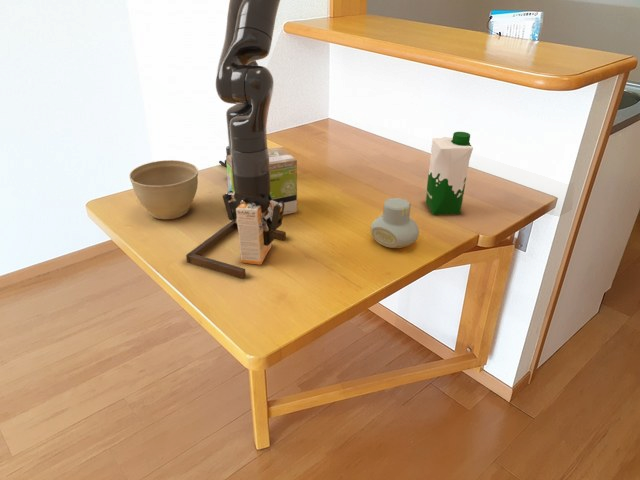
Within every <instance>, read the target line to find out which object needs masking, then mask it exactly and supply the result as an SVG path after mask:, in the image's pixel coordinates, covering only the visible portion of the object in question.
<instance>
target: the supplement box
mask: <svg viewBox="0 0 640 480" xmlns="http://www.w3.org/2000/svg"><path fill="white" fill-rule="evenodd" d="M251 204H252V203H247V204H240V205H239V206H238V207H237V208H236V214H237V224H238V229H237V234H238V233H239V235H238V242H239V243H238V244H239V251H240V261H241V263H242V264H243V263H244V264H250V265H251V264H253V265H262V263H263V262H264V260H265V258H266V256H267V255H268V253H269V251H270V250H271V248H272V247H273V241H272V242H271V243H270V244H269V245H268V246H266V245H264V235H263V231H264V229H263V224H262V221H261V213H262V211H261V206H260V205H258V206H257V207H256V206H252V205H251ZM269 209H270V206H269ZM265 213H266V211H265V212H264V213H262V215H263V216H264V215H265Z"/></svg>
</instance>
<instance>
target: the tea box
mask: <svg viewBox="0 0 640 480" xmlns="http://www.w3.org/2000/svg"><path fill="white" fill-rule="evenodd" d="M267 149H268V154H269V165H270V185H271V188H270V196H271V198H272V200H273V201H276V202H278V203H279V202H280V201H283V202H284V204H285V205H284V212H283V216H284V215H290V214H294V213H295V214H296V213H297V208H298V160H297V159H296V158H295V157H294V156H292V155H291V154H290V153H289V152H287V151H286V150H285V149H284V148H283V147H282V146H281V147H275V148H267ZM225 160H226V165H227V167H226V177H227V178H226V179H227V192H229V191H233V193H235V191H234V186H233V175H232V163H231V155H227V154H226V155H225ZM236 204H237V207H238V206H239V204H238V203H237V201H236ZM271 210H272V208H271V206H270V212H271ZM272 216H273V212H271V218H272Z"/></svg>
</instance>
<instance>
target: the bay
mask: <svg viewBox="0 0 640 480" xmlns="http://www.w3.org/2000/svg"><path fill="white" fill-rule="evenodd" d="M235 230H238V227H237V224H236V222H235V221H234V220H232V221H231V220H230V222H229V223H226V225H224V226H222V228H220V229H219V230H217V231H216V232H215V233H213V235H211V236H210V237H208V238H207V239H206V240H204V241H203V242H202V243H200V244H199V245H198V246H196V247H194V248H193V249H192V250H191V251H190V252H188V253H187V254H186V255H185V257H186V258H185V259H186V263H189V264H192V265H195V266H198V267H201V268H205V269H209V270H212V271H215V272H218V273H222V274H226V275H229V276H231V277H235V278H239V279H242V280H244V278H245V277H246V276H247V275H246V274H247V273H246V268H245V267H244V268H243V267H240V266H237V265H234V264H230V263H227V262H223V261H219V260H216V259H213V258H210V257H205V256H203V255H204V254H206V253H207V252H208V251H210V250H211V249H212V248H213V247H215V246H216V245H217V244H219V243H220V242H221V241H222V240H224V239H225V238H226V237H228V236H229V235H230V234H231V233H232V232H234V231H235ZM273 235H274V240H279V241H283V242H284V241H285V240H286V239H287V232H286V231H283V230H279V229H276V230H275V231H273Z"/></svg>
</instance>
